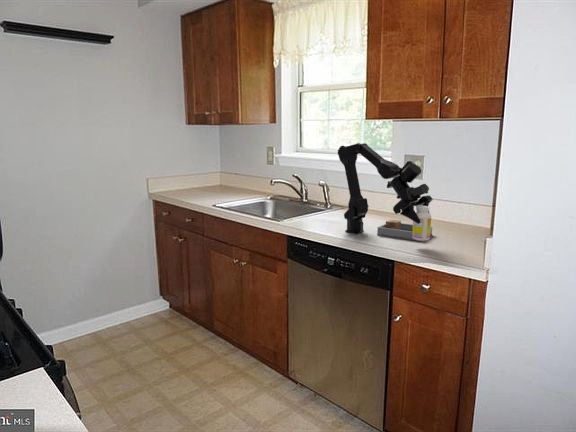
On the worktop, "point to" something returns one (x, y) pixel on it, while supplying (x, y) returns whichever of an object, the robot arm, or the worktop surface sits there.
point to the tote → (398, 231)
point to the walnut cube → (393, 224)
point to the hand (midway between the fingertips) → (425, 221)
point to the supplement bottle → (422, 224)
